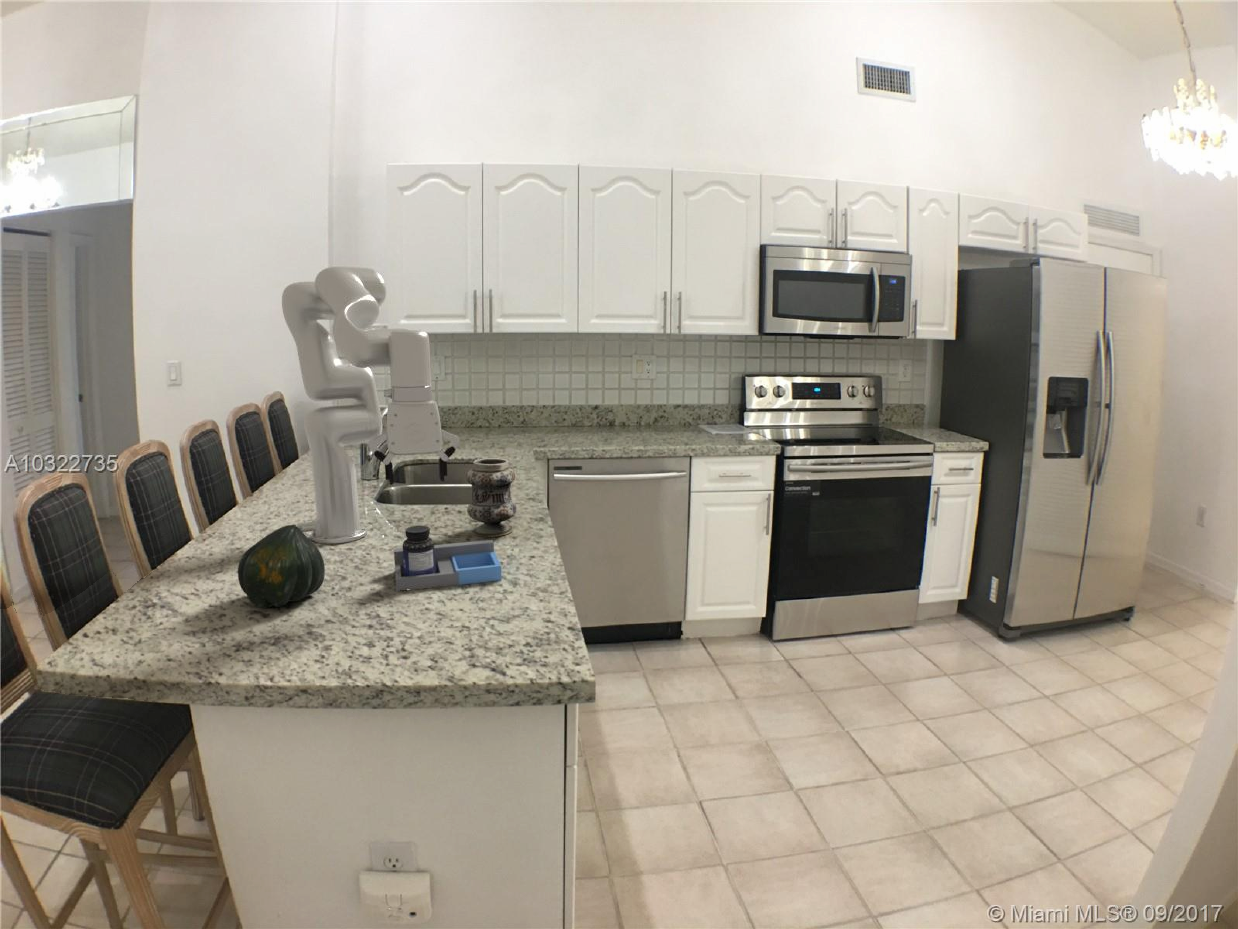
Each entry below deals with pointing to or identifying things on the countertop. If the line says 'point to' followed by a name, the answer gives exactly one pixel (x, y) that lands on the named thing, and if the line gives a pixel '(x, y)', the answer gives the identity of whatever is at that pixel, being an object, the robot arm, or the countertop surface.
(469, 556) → the organizer tray
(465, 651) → the countertop surface
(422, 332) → the robot arm
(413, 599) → the countertop surface
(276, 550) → the squash
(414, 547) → the pill bottle
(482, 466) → the apothecary jar
